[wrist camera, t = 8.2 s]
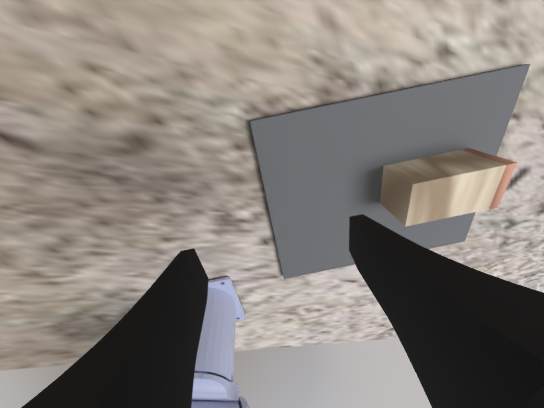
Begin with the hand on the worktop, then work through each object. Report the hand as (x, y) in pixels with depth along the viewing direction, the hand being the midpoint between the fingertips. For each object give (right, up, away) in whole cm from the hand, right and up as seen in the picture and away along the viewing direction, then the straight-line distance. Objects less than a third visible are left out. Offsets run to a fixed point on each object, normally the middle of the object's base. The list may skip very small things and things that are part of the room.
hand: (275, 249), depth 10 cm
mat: (+10, +3, +12) cm, 16 cm away
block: (+10, +3, +9) cm, 14 cm away
